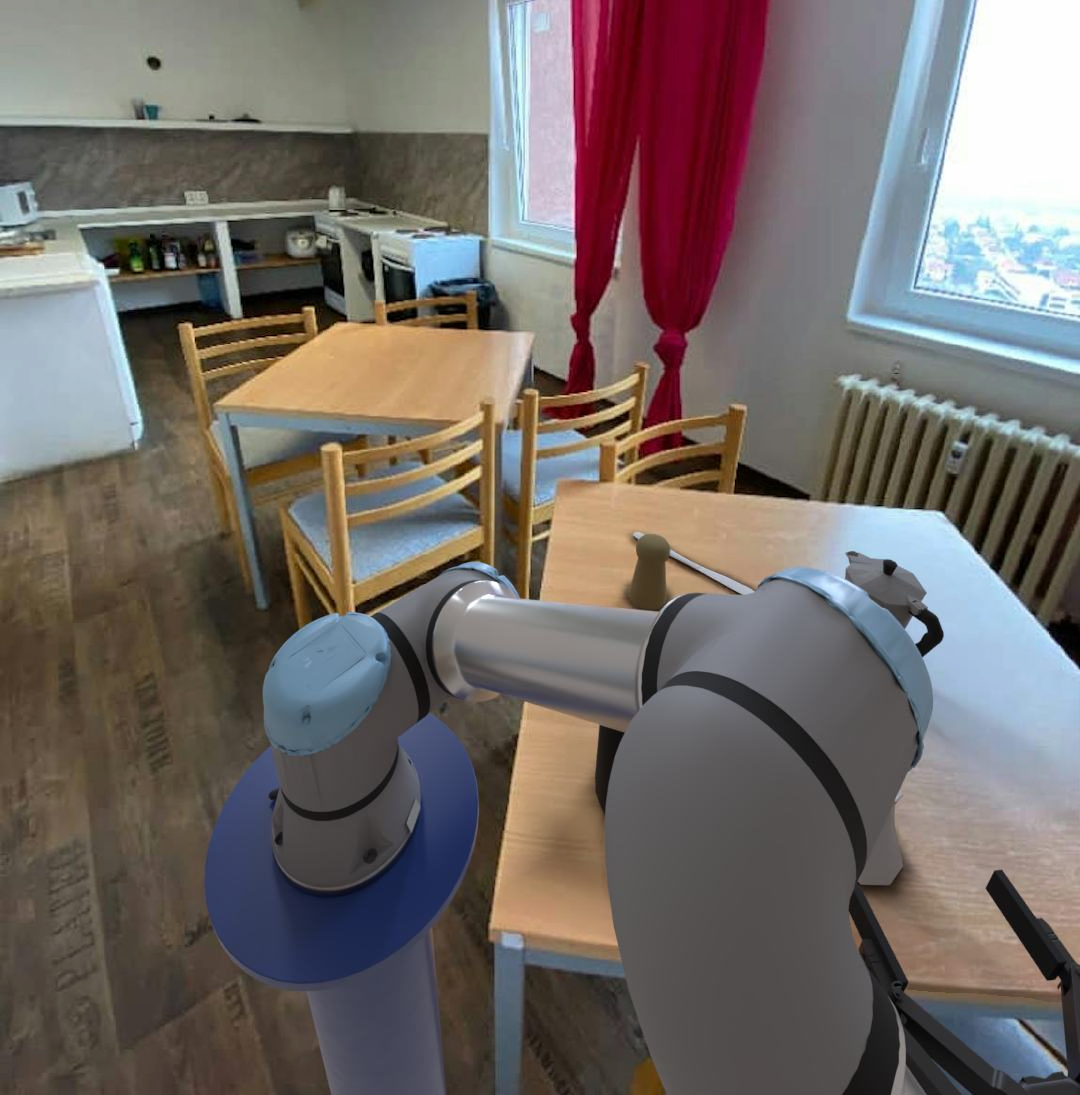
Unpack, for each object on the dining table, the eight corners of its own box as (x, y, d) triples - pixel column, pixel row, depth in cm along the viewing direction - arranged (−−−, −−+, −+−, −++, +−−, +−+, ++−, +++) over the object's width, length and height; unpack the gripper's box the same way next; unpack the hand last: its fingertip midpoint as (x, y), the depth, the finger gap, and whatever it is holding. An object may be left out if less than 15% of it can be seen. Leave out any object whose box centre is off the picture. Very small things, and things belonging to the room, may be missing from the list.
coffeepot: (800, 636, 89) (824, 537, 82) (851, 623, 92) (879, 525, 85) (883, 728, 76) (920, 619, 69) (940, 710, 78) (982, 602, 72)
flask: (808, 824, 65) (827, 761, 61) (861, 803, 67) (882, 741, 64) (860, 899, 59) (884, 835, 55) (916, 874, 61) (944, 810, 57)
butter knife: (640, 527, 112) (631, 534, 110) (782, 605, 95) (774, 614, 93) (640, 530, 112) (630, 536, 110) (781, 608, 95) (774, 617, 93)
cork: (667, 586, 98) (674, 531, 94) (665, 613, 93) (673, 556, 89) (630, 580, 100) (635, 525, 95) (626, 606, 94) (632, 549, 90)
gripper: (956, 1374, 35) (783, 925, 54) (1329, 1300, 37) (1036, 896, 57) (996, 1334, 32) (799, 875, 51) (1398, 1256, 34) (1064, 847, 54)
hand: (923, 886), depth 54 cm, fingers open, 13 cm apart
